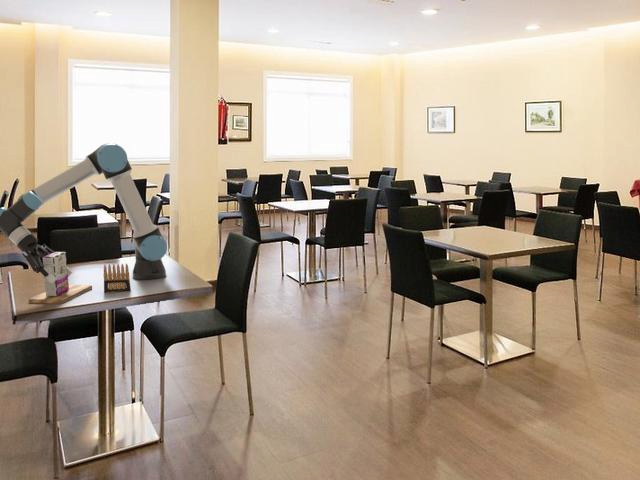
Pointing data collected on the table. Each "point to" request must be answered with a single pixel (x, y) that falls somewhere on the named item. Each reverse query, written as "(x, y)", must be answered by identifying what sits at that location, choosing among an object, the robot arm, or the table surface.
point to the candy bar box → (56, 273)
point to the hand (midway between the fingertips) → (62, 277)
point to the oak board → (68, 295)
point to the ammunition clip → (116, 279)
